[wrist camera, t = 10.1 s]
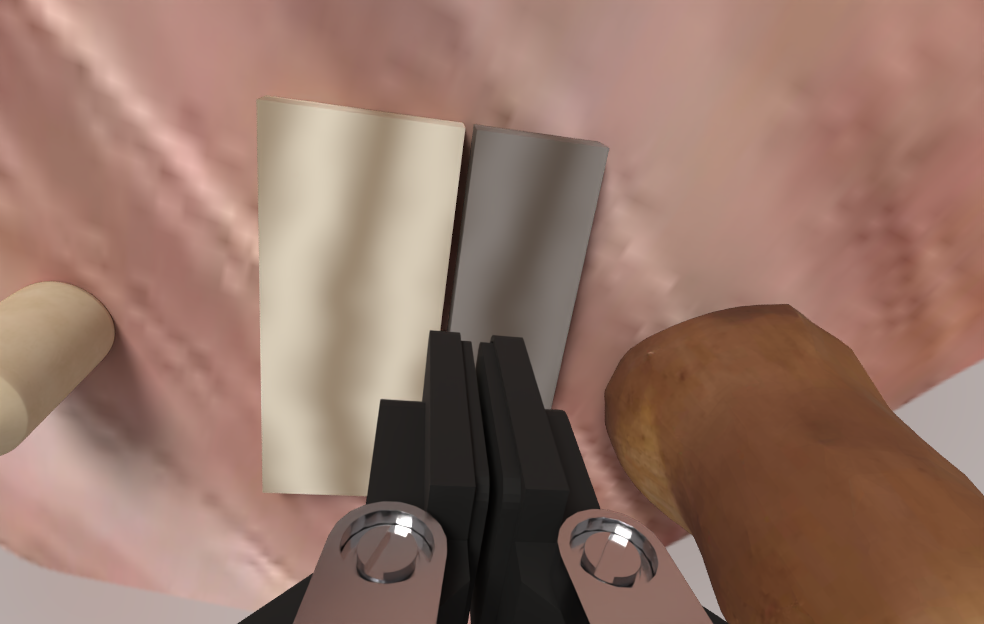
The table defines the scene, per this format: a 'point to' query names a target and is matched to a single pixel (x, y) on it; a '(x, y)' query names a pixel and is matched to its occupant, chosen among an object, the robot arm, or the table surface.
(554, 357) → the floor board
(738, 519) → the butternut squash
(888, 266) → the table surface
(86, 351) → the candle
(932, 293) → the table surface
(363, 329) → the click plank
